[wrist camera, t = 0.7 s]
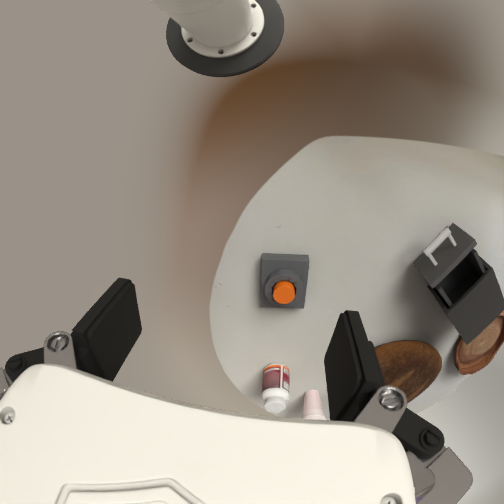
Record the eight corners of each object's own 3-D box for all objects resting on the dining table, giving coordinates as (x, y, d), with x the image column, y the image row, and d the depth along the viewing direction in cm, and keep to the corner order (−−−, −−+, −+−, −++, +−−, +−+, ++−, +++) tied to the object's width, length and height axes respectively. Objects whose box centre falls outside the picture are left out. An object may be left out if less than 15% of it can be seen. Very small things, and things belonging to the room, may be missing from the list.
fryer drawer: (401, 249, 44) (418, 270, 37) (443, 207, 40) (466, 222, 33) (440, 300, 48) (455, 322, 41) (475, 264, 43) (494, 283, 37)
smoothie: (295, 392, 65) (295, 436, 53) (316, 383, 63) (319, 429, 50) (307, 402, 67) (308, 444, 54) (327, 394, 65) (331, 437, 52)
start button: (273, 280, 46) (273, 285, 45) (295, 281, 46) (295, 286, 44) (273, 297, 48) (272, 303, 46) (293, 298, 47) (293, 304, 46)
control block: (262, 253, 48) (260, 264, 45) (308, 254, 47) (310, 266, 44) (261, 299, 53) (260, 312, 49) (303, 301, 52) (304, 314, 48)
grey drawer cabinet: (427, 286, 48) (446, 314, 39) (467, 245, 43) (492, 268, 34) (450, 319, 51) (466, 345, 42) (486, 284, 46) (506, 307, 37)
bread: (317, 387, 64) (318, 415, 56) (391, 318, 52) (403, 346, 44) (386, 407, 67) (391, 429, 60) (452, 352, 56) (464, 374, 48)
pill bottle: (260, 374, 63) (256, 410, 53) (268, 359, 60) (265, 397, 50) (283, 379, 63) (282, 416, 53) (293, 365, 60) (293, 403, 50)
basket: (467, 310, 50) (475, 323, 45) (514, 297, 47) (523, 307, 42) (443, 370, 59) (448, 382, 55) (489, 354, 56) (495, 364, 52)
